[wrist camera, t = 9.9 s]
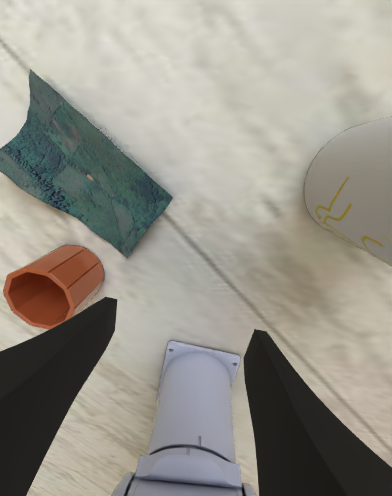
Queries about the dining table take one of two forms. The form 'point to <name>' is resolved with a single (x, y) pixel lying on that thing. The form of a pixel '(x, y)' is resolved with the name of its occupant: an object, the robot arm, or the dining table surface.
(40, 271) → the faceted terracotta tumbler
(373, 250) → the white cylinder
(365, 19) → the dining table surface
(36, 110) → the terrain model
